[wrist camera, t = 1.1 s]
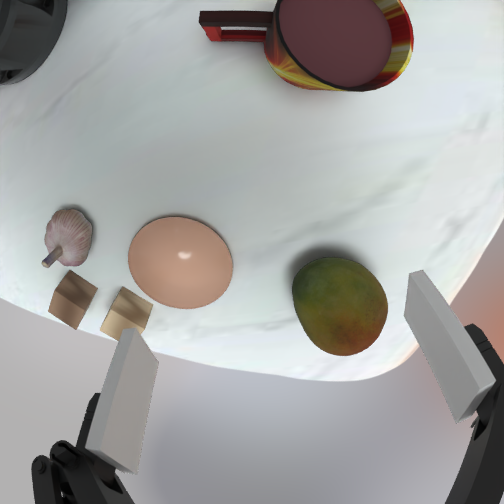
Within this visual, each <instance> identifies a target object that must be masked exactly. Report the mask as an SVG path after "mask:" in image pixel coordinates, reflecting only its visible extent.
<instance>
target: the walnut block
mask: <svg viewBox="0 0 504 504" xmlns="http://www.w3.org/2000/svg"><path fill="white" fill-rule="evenodd" d="M97 289H98V288H97V287H95V286H94V285H92V284H91V283H89V282H88V281H86V280H85V279H83V278H82V277H80V276H79V275H77V274H76V273H74V272H73V271H71V270H69V271H68V273H67V274H66V275H65V277H64V278H63V279H62V281H61V282H60V284H59V285H58V286H57V288H56V289H55V291H54V294H53V297H52V300H51V303H50V306H49V310H48V312H50V313H51V314H53V315H54V316H55V317H57V318H58V319H60V320H61V321H63V322H64V323H66V324H68V325H69V326H71V327H72V328H74V329H75V330H76V329H77V328H78V326H79V324H80V322H81V320H82V318H83V316H84V315H85V313H86V311H87V309H88V307H89V305H90V303H91V301H92V299H93V297H94V295H95V293H96V291H97Z"/></svg>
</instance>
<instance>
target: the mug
mask: <svg viewBox="0 0 504 504" xmlns="http://www.w3.org/2000/svg"><path fill="white" fill-rule="evenodd" d="M199 23H200V25H201V26H202V28H203V29H204V30H205V32H206V35H207V36H208V38H209V39H210V40H211V41H247V42H264V50H265V55H266V57H267V60H268V62H269V64H270V66H271V67H272V69H273V70H274V71H275V72H276V73H277V74H278V75H279V76H280V77H281V78H282V79H284V80H285V81H286V82H288V83H290V84H292V85H294V86H297V87H300V88H303V89H309V90H333V91H356V92H364V91H370V90H376V89H379V88H381V87H384V86H386V85H388V84H390V83H391V82H393V81H394V80H396V79H397V78H398V77H399V76H400V75H401V74H402V72H403V71H404V70H405V68H406V67H407V65H408V63H409V61H410V58H411V55H412V52H413V43H414V36H413V28H412V24H411V21H410V18H409V15H408V13H407V11H406V9H405V8H404V6H403V4H402V3H401V1H400V0H277V3H276V6H275V8H274V11H273V12H267V11H200V16H199ZM221 27H267V30H266V31H261V30H221Z"/></svg>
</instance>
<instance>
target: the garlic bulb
mask: <svg viewBox="0 0 504 504" xmlns="http://www.w3.org/2000/svg"><path fill="white" fill-rule="evenodd" d="M91 235H92V226H91V223H90V222H89V221H88V220H86V219H85V217H84V215H83V214H82V213H81V212H79V211H77V210H75V209H69V210H59V211H57V212H56V213H55V214H54V215H53V216H52V219H51V220H50V221H49V222H48V224H47V227H46V234H45V245H46V246H47V249H48V252H49V255H48V256H47V257H46V258H45V259H44V260H43V261H42V265H43V266H44V267H46V268H49V267H50V266H51V265H52V264H53V263H54V262H55V261H56V260H58V261H59V262H60V263H61V264H63V265H64V266H79V265H81V264H82V263H84V261H85V260H86V259H87V256H88V250H89V249H90V246H91Z"/></svg>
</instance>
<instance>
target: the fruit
mask: <svg viewBox="0 0 504 504" xmlns="http://www.w3.org/2000/svg"><path fill="white" fill-rule="evenodd" d="M292 294H293V301H294V307H295V311H296V313H297V316H298V318H299V320H300V323H301V325H302V327H303V329H304V331H305V332H306V334H307V336H308V337H309V338H310V340H311V341H312V342H313V343H314V344H315V345H316V346H317V347H318V348H320V349H321V350H323V351H325V352H327V353H330V354H333V355H338V356H349V355H354V354H357V353H359V352H362V351H363V350H365V349H367V348H368V347H369V346H371V345H372V344H373V343H374V342H375V340H376V339H377V338H378V337H379V335H380V333H381V331H382V329H383V326H384V324H385V322H386V318H387V313H388V303H387V298H386V294H385V292H384V290H383V288H382V286H381V284H380V283H379V281H378V280H377V279H376V277H375V276H374V275H373V274H372V273H371V272H370V271H369V270H367V269H366V268H365V267H364V266H362V265H360V264H359V263H356V262H354V261H351V260H347V259H343V258H335V257H327V258H321V259H317V260H315V261H313V262H310V263H309V264H307V265H306V266H304V267H303V268H302V269H301V270H300V271H299V272H298V273H297V275H296V277H295V278H294V281H293V284H292Z"/></svg>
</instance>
